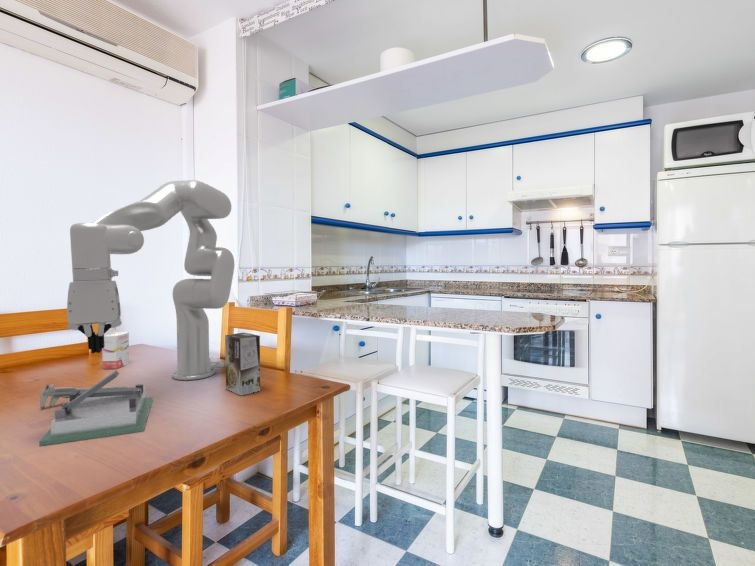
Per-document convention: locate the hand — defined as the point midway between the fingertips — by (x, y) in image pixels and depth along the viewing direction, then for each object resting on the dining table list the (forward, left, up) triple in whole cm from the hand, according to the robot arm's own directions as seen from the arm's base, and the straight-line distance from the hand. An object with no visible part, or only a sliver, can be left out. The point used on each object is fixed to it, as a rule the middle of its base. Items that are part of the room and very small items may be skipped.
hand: (96, 351), depth 97 cm
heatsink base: (-2, +5, -15) cm, 16 cm away
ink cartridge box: (+4, -52, -15) cm, 55 cm away
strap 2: (-3, +1, -11) cm, 11 cm away
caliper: (+5, -15, -16) cm, 22 cm away
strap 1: (-1, +10, -8) cm, 12 cm away
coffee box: (-34, -5, -15) cm, 38 cm away
